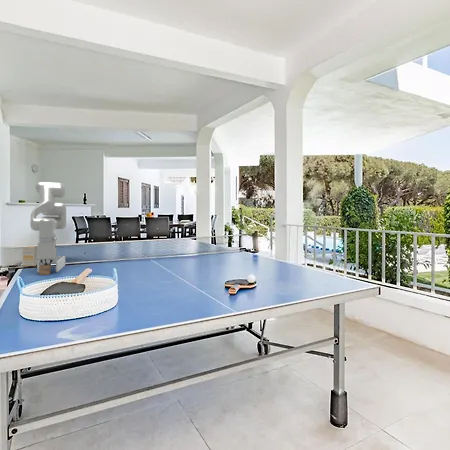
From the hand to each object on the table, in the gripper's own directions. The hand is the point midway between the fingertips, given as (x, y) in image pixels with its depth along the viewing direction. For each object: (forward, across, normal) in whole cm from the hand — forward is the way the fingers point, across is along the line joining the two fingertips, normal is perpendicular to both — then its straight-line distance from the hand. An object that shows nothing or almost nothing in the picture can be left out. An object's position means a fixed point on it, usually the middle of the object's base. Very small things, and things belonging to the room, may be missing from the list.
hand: (46, 270), depth 203 cm
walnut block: (+1, 0, +4) cm, 4 cm away
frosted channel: (+1, 0, -13) cm, 13 cm away
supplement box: (+1, +15, -24) cm, 29 cm away
